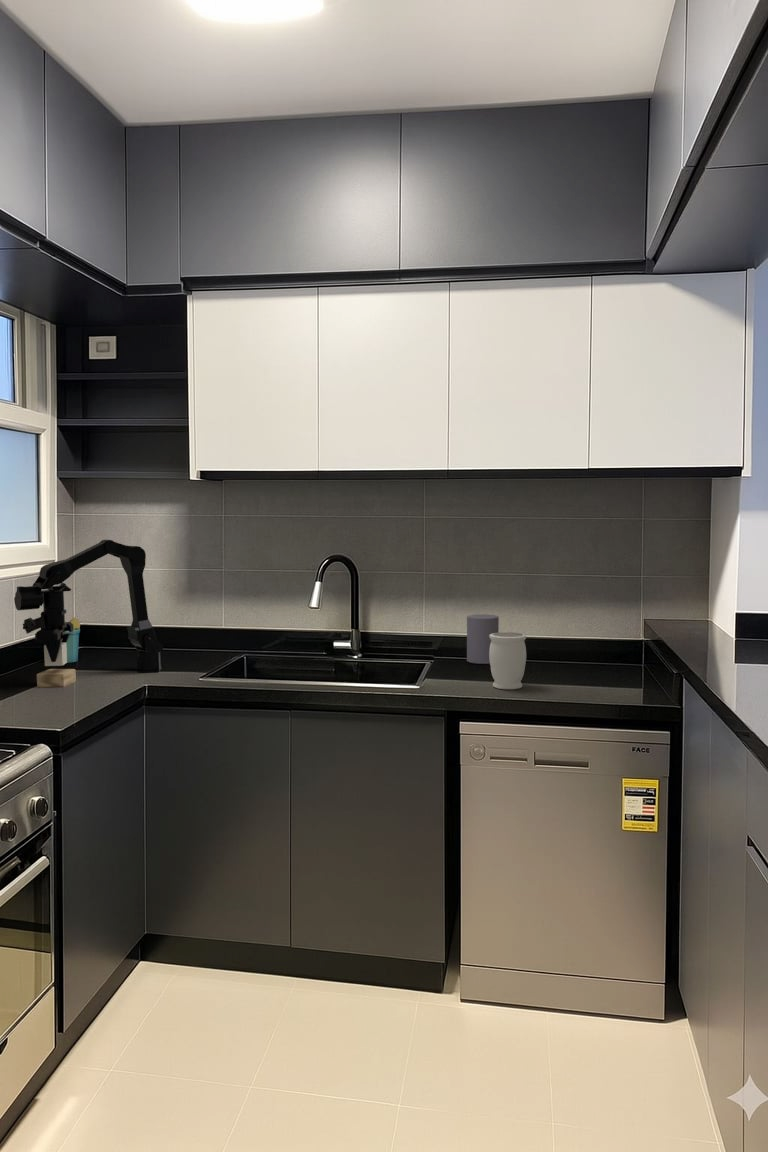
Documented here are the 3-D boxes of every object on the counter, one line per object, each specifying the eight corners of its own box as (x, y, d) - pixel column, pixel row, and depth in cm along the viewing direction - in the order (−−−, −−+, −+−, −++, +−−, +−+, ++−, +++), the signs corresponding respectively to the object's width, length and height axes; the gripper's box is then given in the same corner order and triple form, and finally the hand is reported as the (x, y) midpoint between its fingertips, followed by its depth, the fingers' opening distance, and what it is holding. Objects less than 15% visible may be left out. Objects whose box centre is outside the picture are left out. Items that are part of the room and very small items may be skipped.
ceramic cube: (67, 662, 260) (66, 642, 260) (62, 665, 255) (61, 645, 255) (49, 662, 260) (48, 642, 259) (44, 666, 255) (44, 645, 254)
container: (485, 657, 295) (485, 613, 294) (504, 662, 286) (505, 617, 285) (460, 660, 290) (460, 615, 289) (479, 665, 281) (479, 619, 280)
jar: (516, 692, 242) (517, 638, 241) (482, 688, 248) (483, 635, 246) (531, 685, 251) (532, 633, 250) (498, 681, 257) (498, 630, 255)
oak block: (75, 682, 262) (75, 669, 261) (63, 688, 254) (63, 674, 253) (50, 682, 262) (49, 668, 262) (37, 687, 254) (36, 674, 254)
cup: (71, 665, 287) (70, 620, 286) (48, 665, 287) (46, 620, 286) (88, 657, 301) (86, 614, 300) (65, 657, 301) (64, 614, 300)
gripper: (34, 604, 265) (37, 655, 266) (15, 612, 246) (17, 667, 247) (72, 603, 266) (75, 654, 267) (55, 611, 247) (58, 665, 248)
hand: (56, 660), depth 257 cm, fingers closed on ceramic cube, 5 cm apart
